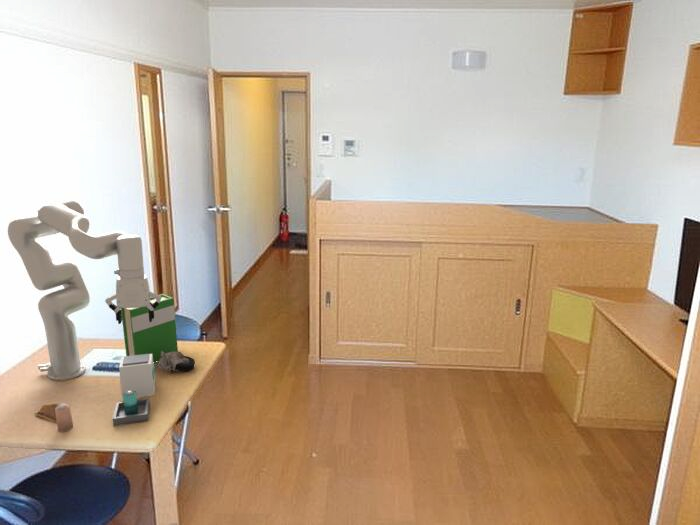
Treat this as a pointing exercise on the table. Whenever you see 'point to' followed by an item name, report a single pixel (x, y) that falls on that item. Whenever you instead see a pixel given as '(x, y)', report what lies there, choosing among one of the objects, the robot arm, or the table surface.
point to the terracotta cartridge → (63, 417)
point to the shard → (48, 412)
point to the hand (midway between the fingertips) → (135, 321)
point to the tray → (122, 419)
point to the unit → (138, 374)
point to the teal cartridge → (130, 402)
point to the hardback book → (150, 329)
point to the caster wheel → (176, 362)
